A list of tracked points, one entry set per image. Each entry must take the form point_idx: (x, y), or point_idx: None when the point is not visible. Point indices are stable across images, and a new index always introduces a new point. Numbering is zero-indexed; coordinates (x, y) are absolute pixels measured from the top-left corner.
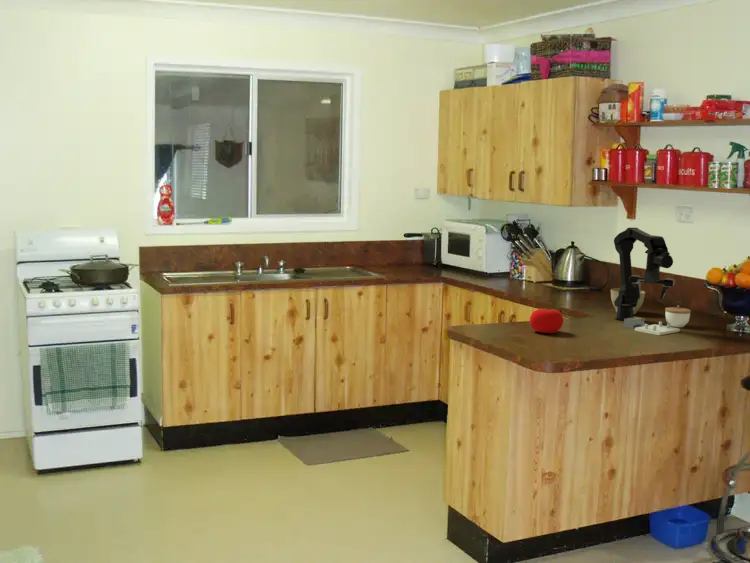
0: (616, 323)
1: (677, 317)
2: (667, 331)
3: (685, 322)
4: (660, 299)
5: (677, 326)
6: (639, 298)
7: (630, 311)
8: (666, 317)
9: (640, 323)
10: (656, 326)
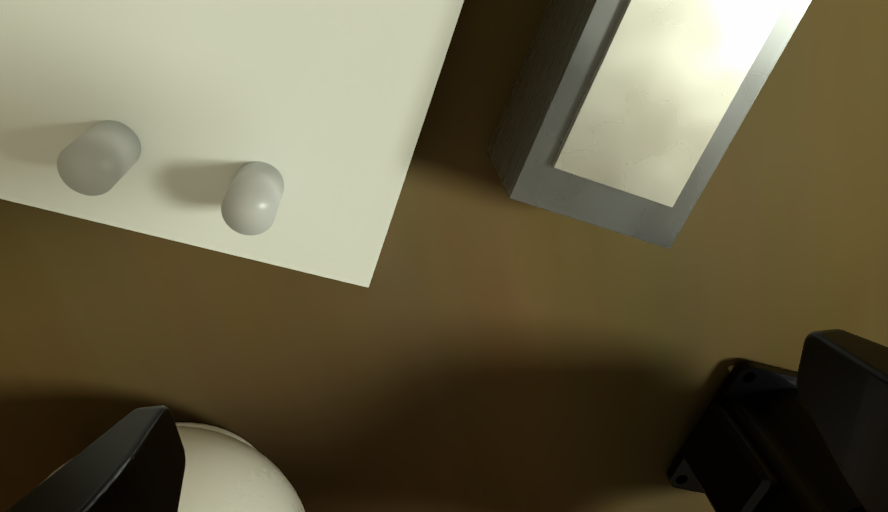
0: (850, 168)
1: None
2: None
3: None
4: (138, 435)
5: None
6: (823, 333)
7: (762, 481)
8: (276, 495)
9: (537, 77)
10: (296, 126)
